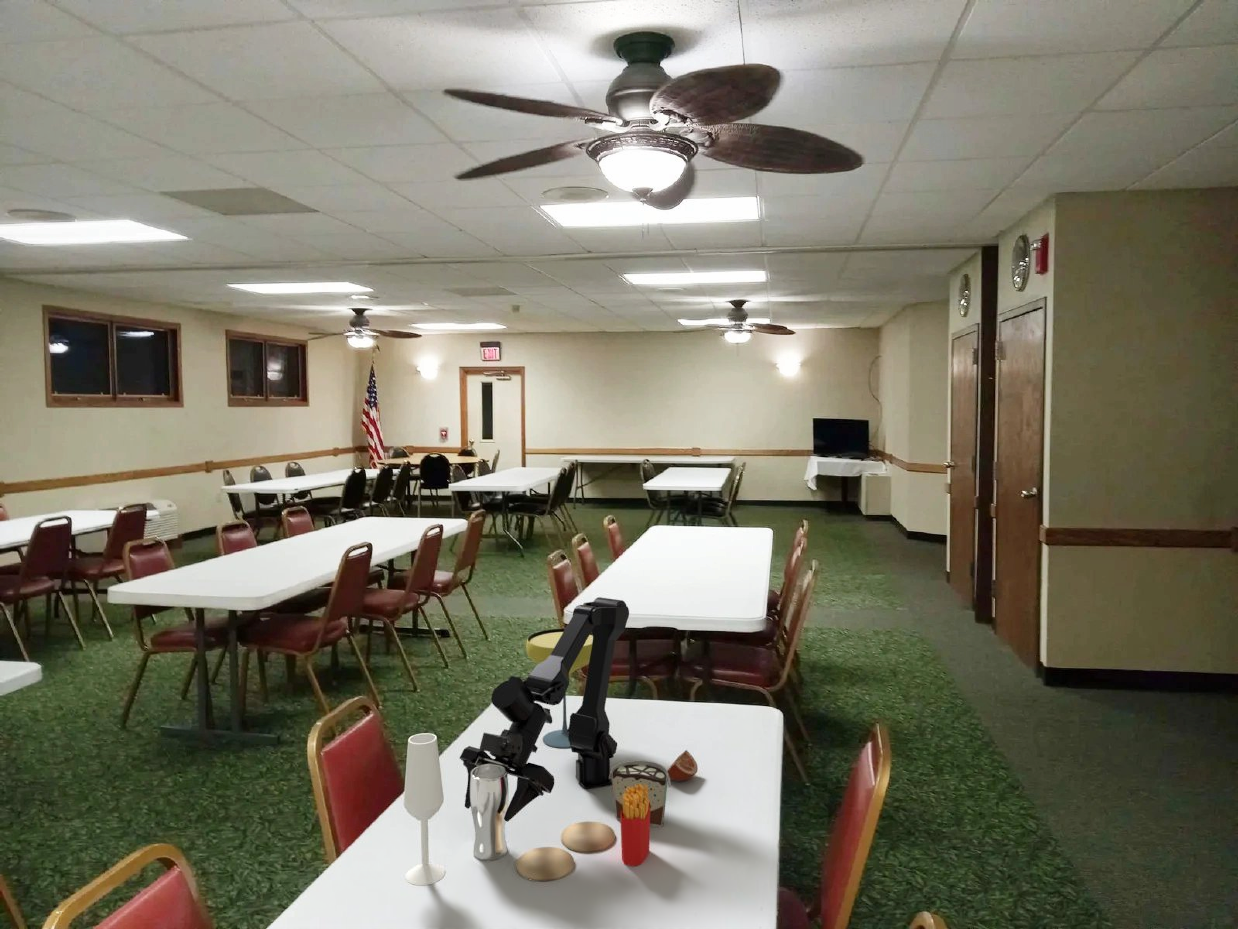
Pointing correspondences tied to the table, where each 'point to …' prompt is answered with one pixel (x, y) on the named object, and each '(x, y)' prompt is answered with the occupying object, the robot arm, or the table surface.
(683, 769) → the fruit slice
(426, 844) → the champagne flute
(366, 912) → the table surface
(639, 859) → the french fries
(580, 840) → the coaster
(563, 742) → the cocktail glass
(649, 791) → the food container
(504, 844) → the beer glass
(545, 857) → the coaster
